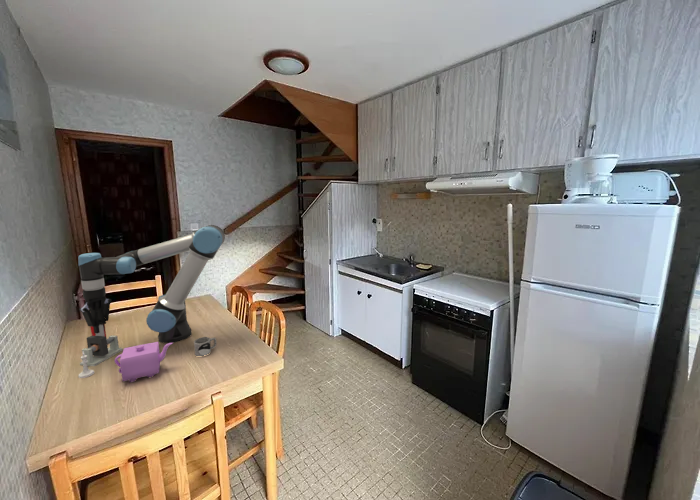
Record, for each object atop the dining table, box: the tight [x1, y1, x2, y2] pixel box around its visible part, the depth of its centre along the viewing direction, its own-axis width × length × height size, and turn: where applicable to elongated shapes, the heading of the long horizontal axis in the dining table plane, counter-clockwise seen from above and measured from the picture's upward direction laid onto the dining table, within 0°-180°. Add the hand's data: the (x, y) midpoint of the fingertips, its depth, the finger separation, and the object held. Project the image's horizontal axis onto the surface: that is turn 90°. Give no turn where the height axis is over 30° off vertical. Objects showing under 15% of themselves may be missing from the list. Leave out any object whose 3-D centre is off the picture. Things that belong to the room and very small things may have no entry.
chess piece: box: [78, 351, 95, 379], centre depth 119 cm, size 5×5×10 cm
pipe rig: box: [79, 335, 124, 367], centre depth 132 cm, size 14×7×7 cm, turn 173°
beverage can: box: [89, 324, 108, 339], centre depth 143 cm, size 5×5×12 cm
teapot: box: [114, 341, 174, 383], centre depth 120 cm, size 20×10×12 cm, turn 120°
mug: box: [193, 336, 217, 357], centre depth 138 cm, size 10×7×7 cm, turn 143°
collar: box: [86, 335, 109, 356], centre depth 130 cm, size 2×7×8 cm, turn 83°
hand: (100, 338), depth 132 cm, fingers closed
